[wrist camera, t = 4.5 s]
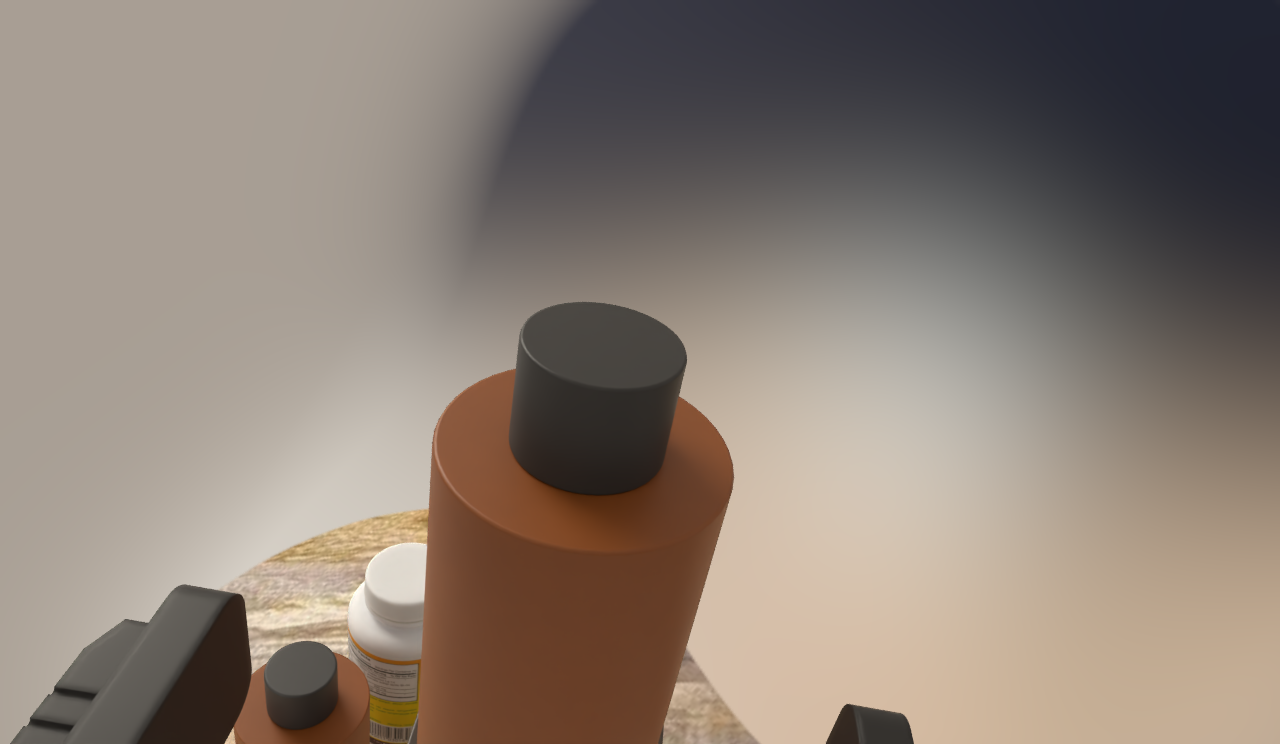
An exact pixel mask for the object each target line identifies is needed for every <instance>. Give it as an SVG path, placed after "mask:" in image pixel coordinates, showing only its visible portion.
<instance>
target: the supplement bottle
mask: <svg viewBox="0 0 1280 744" xmlns="http://www.w3.org/2000/svg"><path fill="white" fill-rule="evenodd" d="M426 556H427V545H426V544H421V543H402V544H397V545H393V546H391V547H388V548H386V549H384V550H383V551H381V552H379V553H378V554H377V555H376V556H375V557H374V558H373V559H372V560H371V561H370V563H369V565H368V567H367V570H366V575H365V581H364V582H363V583H362V584H361V585H360V586H359V587H358V589H357V590H356V591H355V593H354V595H353V597H352V599H351V601H350V604H349V608H348V647H349V659H350V660H351V661H353V662H354V663H355V664H356V665H357V666H358V667H359V668H360V669H361V670H362V672H363V673H364V675H365V677H366V679H367V681H368V684H369V689H370V744H407V743H408V740H409V737H410V734H411V731H412V728H413V725H414V722H415V719H416V716H417V714H418V711H419V692H420V673H421V653H422V634H423V615H424V595H425V576H426Z"/></svg>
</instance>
